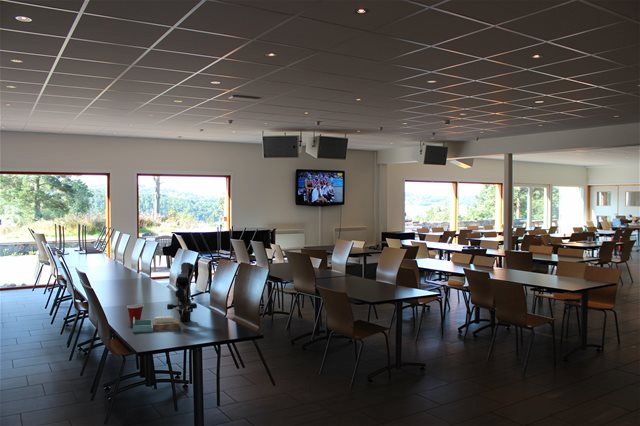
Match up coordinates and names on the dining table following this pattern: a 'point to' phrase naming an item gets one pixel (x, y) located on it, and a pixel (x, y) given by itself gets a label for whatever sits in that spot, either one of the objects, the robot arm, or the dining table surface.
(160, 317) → the tile
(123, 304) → the dining table surface
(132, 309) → the plastic cup
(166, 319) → the tile
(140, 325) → the box
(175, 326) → the walnut plate
